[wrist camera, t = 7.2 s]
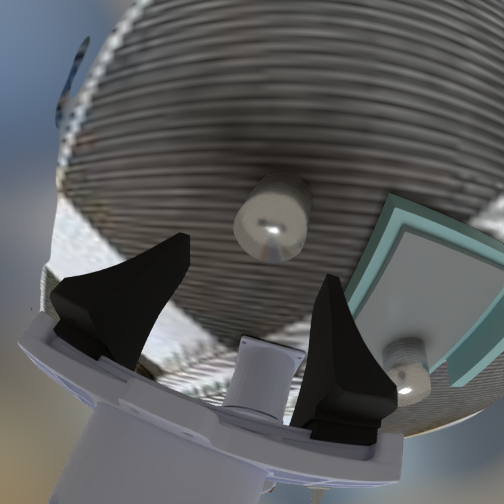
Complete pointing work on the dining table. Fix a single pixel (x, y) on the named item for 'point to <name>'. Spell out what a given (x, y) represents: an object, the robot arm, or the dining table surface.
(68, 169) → the dining table surface
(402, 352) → the cylinder
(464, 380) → the scale
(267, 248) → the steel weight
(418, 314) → the pan
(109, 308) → the robot arm
